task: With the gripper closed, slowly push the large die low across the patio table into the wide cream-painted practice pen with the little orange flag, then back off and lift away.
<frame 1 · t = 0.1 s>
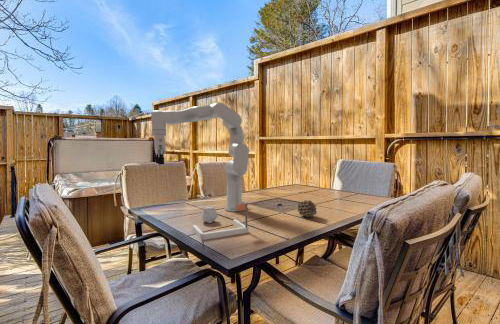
hand: (159, 163, 157), 31 cm above the table, fingers open, 9 cm apart
pine cone: (303, 215, 163), on the table
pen: (219, 230, 136), on the table
die: (209, 222, 151), on the table
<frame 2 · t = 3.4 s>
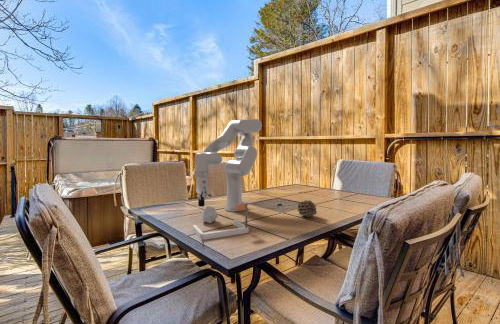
hand: (201, 206, 161), 6 cm above the table, fingers closed
nothing on the table moved.
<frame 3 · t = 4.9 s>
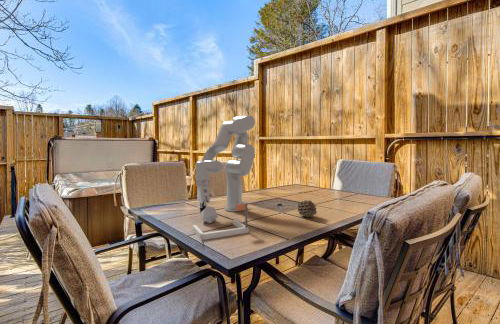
hand: (203, 214, 161), 2 cm above the table, fingers closed
nothing on the table moved.
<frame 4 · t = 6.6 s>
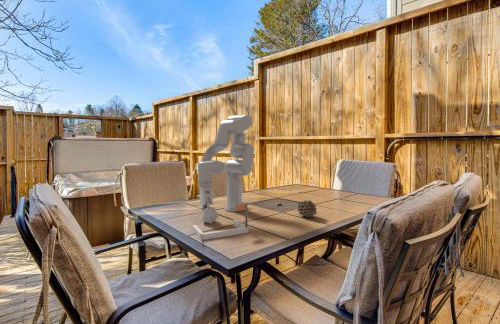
hand: (205, 216, 156), 2 cm above the table, fingers closed
die: (209, 222, 151), on the table, touching gripper
everything else where it was.
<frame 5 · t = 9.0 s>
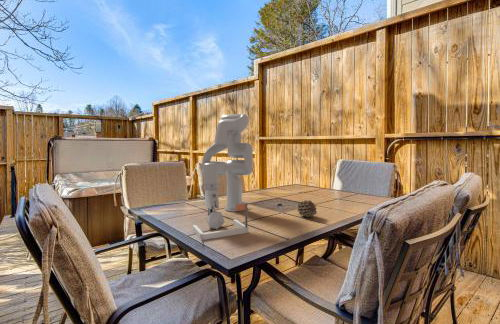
hand: (211, 221, 147), 2 cm above the table, fingers closed
die: (215, 228, 141), on the table, touching gripper
everything else where it was.
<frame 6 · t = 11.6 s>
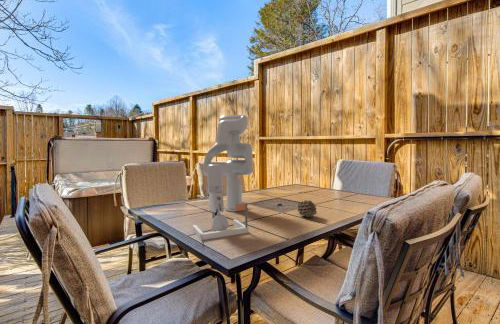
hand: (215, 224, 141), 2 cm above the table, fingers closed
die: (219, 232, 135), on the table, touching gripper
everything else where it was.
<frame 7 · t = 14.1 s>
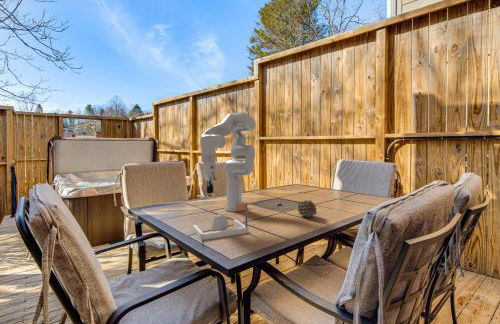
hand: (210, 192, 150), 16 cm above the table, fingers closed
die: (219, 232, 135), on the table
everything else where it was.
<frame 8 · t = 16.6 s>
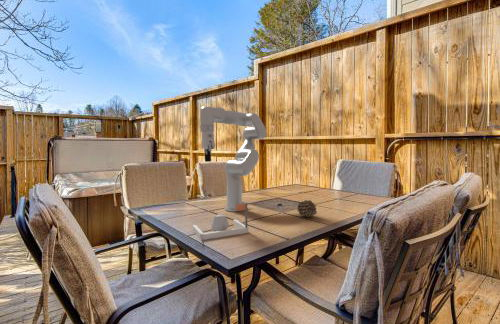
hand: (207, 161, 159), 32 cm above the table, fingers closed
nothing on the table moved.
at the end: die inside the target area on the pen (0.7 cm from its centre), point 0.0 cm above the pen's base; die moved 18.1 cm from its start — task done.
